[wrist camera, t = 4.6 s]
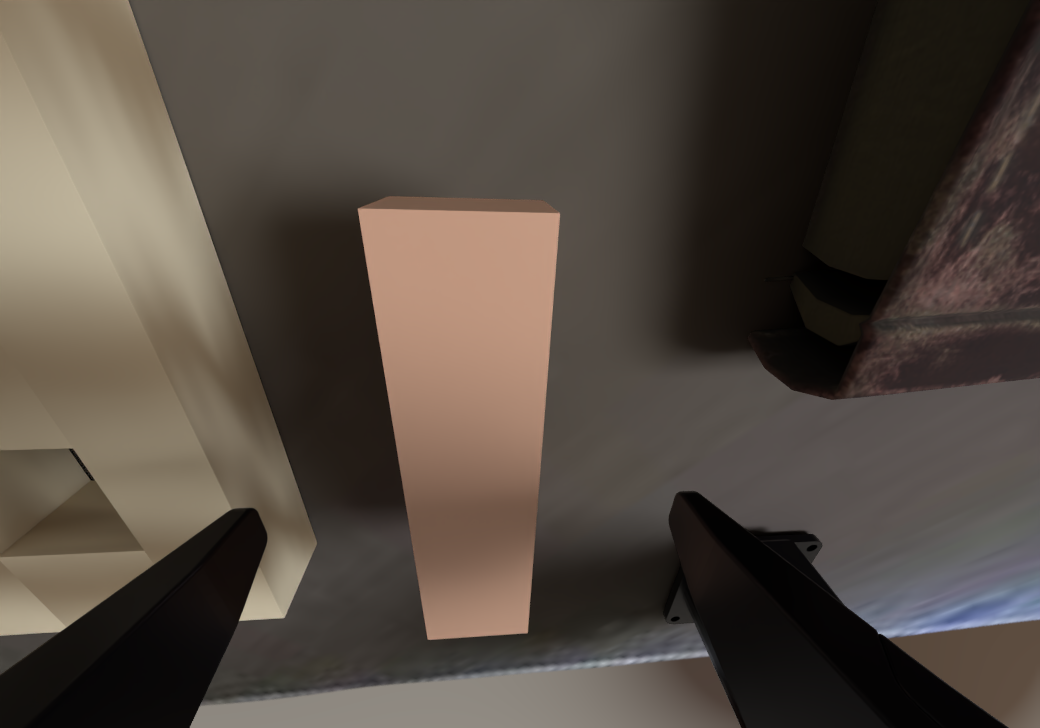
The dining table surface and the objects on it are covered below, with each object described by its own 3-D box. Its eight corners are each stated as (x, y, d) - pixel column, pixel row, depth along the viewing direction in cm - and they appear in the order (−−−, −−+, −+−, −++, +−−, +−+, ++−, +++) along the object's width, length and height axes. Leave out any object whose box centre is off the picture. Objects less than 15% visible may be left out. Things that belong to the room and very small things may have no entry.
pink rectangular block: (516, 502, 16) (527, 633, 12) (444, 504, 16) (427, 639, 11) (528, 188, 10) (559, 213, 6) (414, 185, 10) (357, 208, 6)
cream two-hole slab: (317, 543, 16) (284, 617, 14) (61, 555, 15) (-28, 637, 13) (57, -204, 7) (-230, -446, 4) (-665, -280, 6) (-1642, -652, 3)
